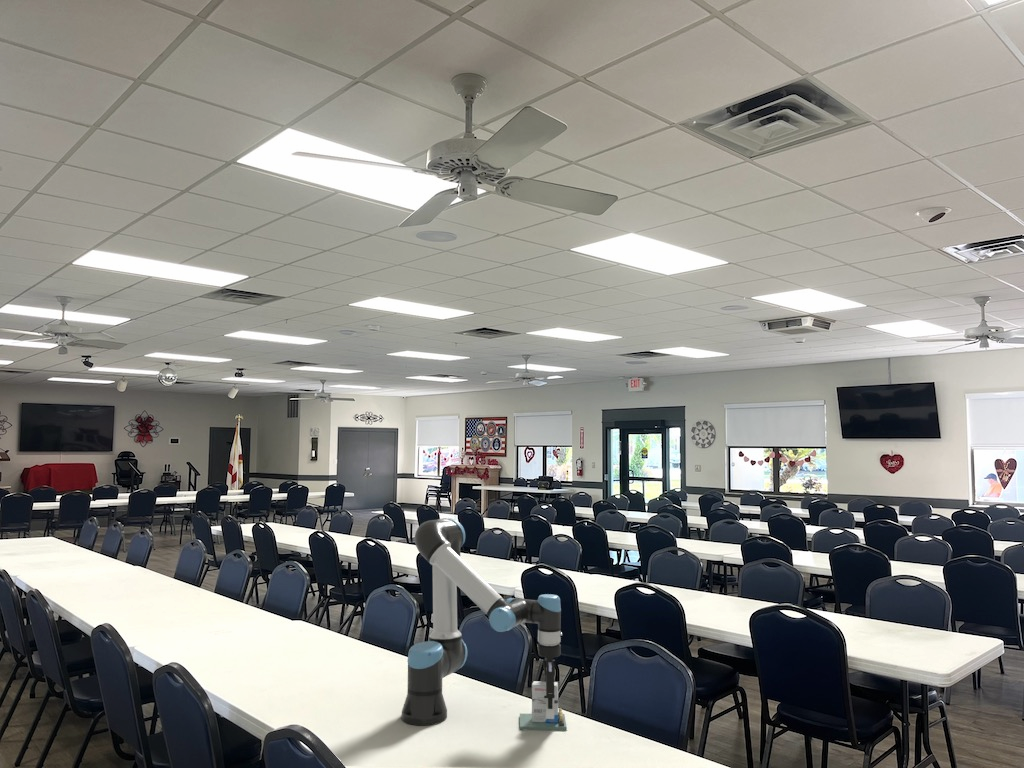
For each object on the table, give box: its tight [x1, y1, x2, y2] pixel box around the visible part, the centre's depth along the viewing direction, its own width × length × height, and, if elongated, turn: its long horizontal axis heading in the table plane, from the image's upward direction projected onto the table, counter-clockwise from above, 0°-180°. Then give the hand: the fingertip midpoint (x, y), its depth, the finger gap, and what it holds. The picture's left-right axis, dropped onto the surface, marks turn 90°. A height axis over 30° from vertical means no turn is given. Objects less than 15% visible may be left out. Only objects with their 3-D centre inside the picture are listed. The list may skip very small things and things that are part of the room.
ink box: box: [531, 680, 559, 723], centre depth 238 cm, size 8×5×12 cm, turn 84°
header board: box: [519, 707, 568, 731], centre depth 237 cm, size 15×12×4 cm
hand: (549, 712), depth 237 cm, fingers open, 10 cm apart
